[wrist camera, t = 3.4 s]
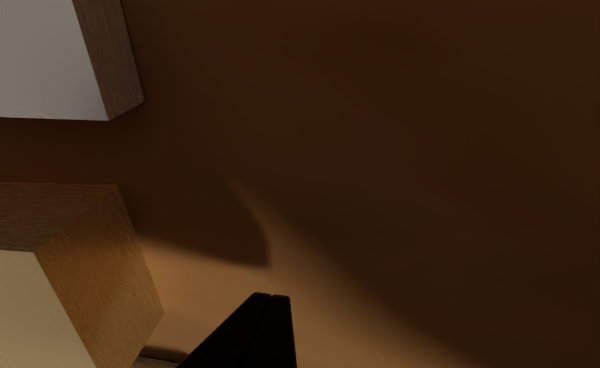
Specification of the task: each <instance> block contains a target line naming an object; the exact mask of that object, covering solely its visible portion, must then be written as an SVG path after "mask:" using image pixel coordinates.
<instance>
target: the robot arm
mask: <svg viewBox="0 0 600 368" xmlns="http://www.w3.org/2000/svg"><path fill="white" fill-rule="evenodd" d="M176 368H297V362H296V352H295V342H294V333H293V323H292V314H291V304H290V298H289V297H288V296H284V295H276V294H275V295H273V296H272V295H271V294H267V293H259V292H255V293H253V294H252V295H251V296H250V297H249V298H248V299H247V300H246V301H245V302H243V303H242V304H241V305H240V306H239V307H238V308H237V309H236V310H235V311H234V312H233V313H232V314H231V315H230V316H229V317H228V318H227V319H226V320H225V321H224V322H223V323H222V324H221V325H219V326H218V327H217V328H216V329H215V330H214V331H213V332H212V333H211V334H210V335H209V336H208V337H207V338H206V339H205V340H204V341H203V342H202V343H201V344H200V345H199V346H198V347H197V348H195V349H194V350H193V351H192V352H191V353H190V354H189V355H188V356H187V357H186V358H185V359H184V360H183V361H182V362H181V363H180V364H179V365H178V366H177V367H176Z"/></svg>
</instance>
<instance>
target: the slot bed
mask: <svg viewBox="0 0 600 368" xmlns="http://www.w3.org/2000/svg"><path fill="white" fill-rule="evenodd" d="M144 101H145V100H144V96H143V92H142V88H141V84H140V80H139V76H138V72H137V68H136V64H135V60H134V56H133V51H132V47H131V43H130V39H129V35H128V31H127V27H126V23H125V19H124V15H123V11H122V7H121V3H120V0H0V117H15V118H44V119H73V120H102V121H109V120H111V119H113V118H115V117H117V116H118V115H120V114H122V113H124V112H126V111H128V110H129V109H131V108H133V107H135V106H137V105H139V104H140V103H142V102H144ZM179 364H180V363H175V362H169V361H163V360H157V359H151V358H145V357H139V356H137V357H136V359H135V360H134V362H133V364H132V365H131V367H130V368H176V367H177V366H178V365H179Z"/></svg>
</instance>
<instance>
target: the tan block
mask: <svg viewBox="0 0 600 368" xmlns="http://www.w3.org/2000/svg"><path fill="white" fill-rule="evenodd" d="M164 314H165V312H164V309H163V307H162V304H161V301H160V298H159V296H158V293H157V290H156V288H155V285H154V282H153V279H152V277H151V274H150V271H149V269H148V266H147V263H146V260H145V258H144V255H143V252H142V249H141V247H140V244H139V241H138V239H137V236H136V233H135V230H134V228H133V225H132V222H131V219H130V217H129V214H128V211H127V209H126V206H125V203H124V200H123V198H122V195H121V192H120V190H119V187H118V185H106V184H69V183H33V182H0V368H130V367H131V365H132V364H133V362H134V360H135V359H136V357H137V356H138V354H139V353H140V351H141V349H142V348H143V346H144V345H145V343H146V342H147V340H148V339H149V337H150V335H151V334H152V332H153V331H154V329H155V328H156V326H157V325H158V323H159V321H160V320H161V318H162V317H163V315H164Z"/></svg>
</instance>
